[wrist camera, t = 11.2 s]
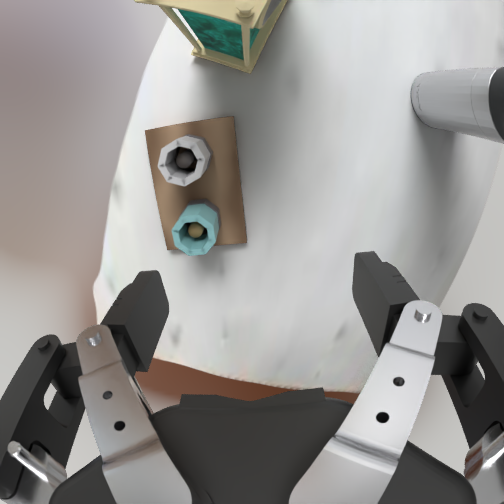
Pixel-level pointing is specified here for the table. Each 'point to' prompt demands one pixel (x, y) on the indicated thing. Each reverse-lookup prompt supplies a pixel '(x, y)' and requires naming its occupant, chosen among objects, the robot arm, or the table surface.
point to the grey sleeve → (187, 175)
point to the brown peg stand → (201, 179)
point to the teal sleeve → (205, 216)
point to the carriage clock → (225, 27)
